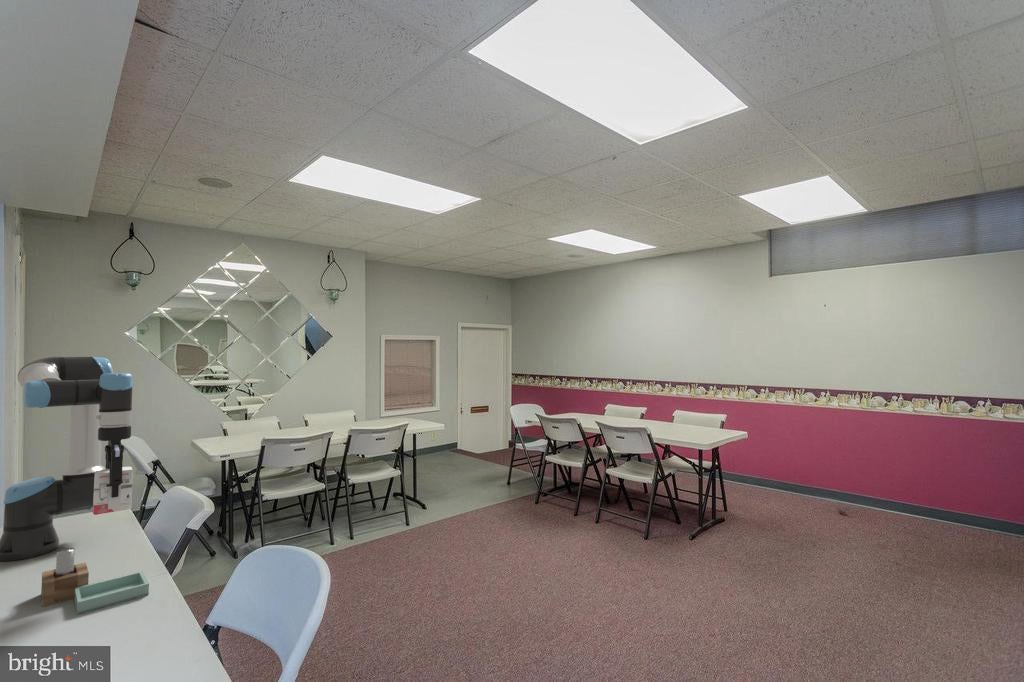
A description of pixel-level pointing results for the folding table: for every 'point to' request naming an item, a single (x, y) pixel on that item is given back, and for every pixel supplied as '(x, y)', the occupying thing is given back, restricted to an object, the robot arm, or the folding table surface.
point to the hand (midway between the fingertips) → (112, 505)
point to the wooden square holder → (62, 584)
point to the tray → (110, 592)
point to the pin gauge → (65, 562)
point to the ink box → (102, 491)
